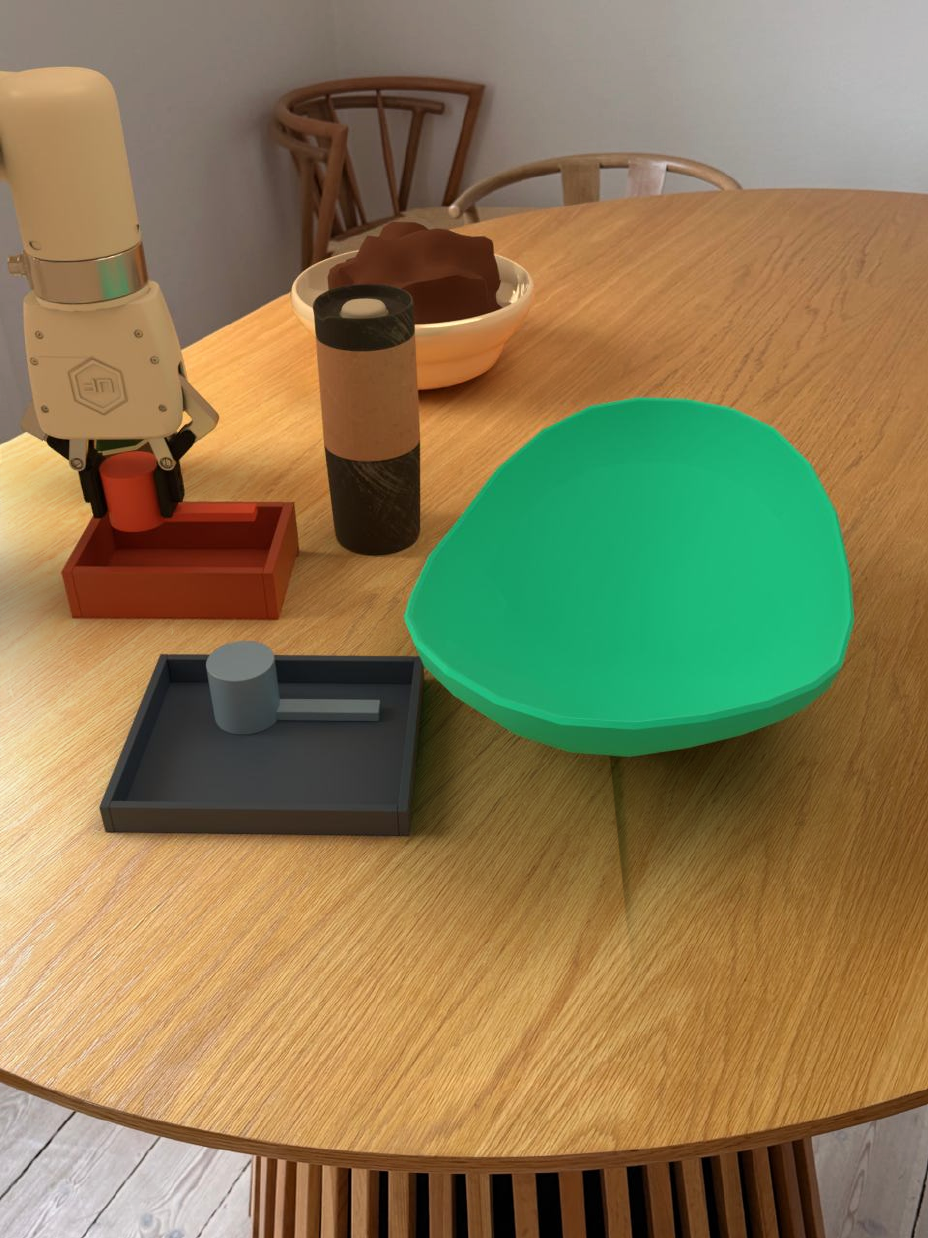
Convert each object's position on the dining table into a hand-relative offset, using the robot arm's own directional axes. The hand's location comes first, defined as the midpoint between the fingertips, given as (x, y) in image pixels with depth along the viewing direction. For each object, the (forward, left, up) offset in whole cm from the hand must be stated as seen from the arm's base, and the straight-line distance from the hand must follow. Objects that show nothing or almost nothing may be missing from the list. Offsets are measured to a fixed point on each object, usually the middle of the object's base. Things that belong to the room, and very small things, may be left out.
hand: (137, 507), depth 91 cm
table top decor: (+36, -13, -7) cm, 39 cm away
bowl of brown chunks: (+18, +42, -7) cm, 46 cm away
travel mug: (+17, +8, -7) cm, 20 cm away
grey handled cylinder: (+14, -16, -7) cm, 22 cm away
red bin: (+3, 0, -7) cm, 8 cm away
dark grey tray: (+13, -20, -7) cm, 25 cm away
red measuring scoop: (+3, 0, -1) cm, 3 cm away
